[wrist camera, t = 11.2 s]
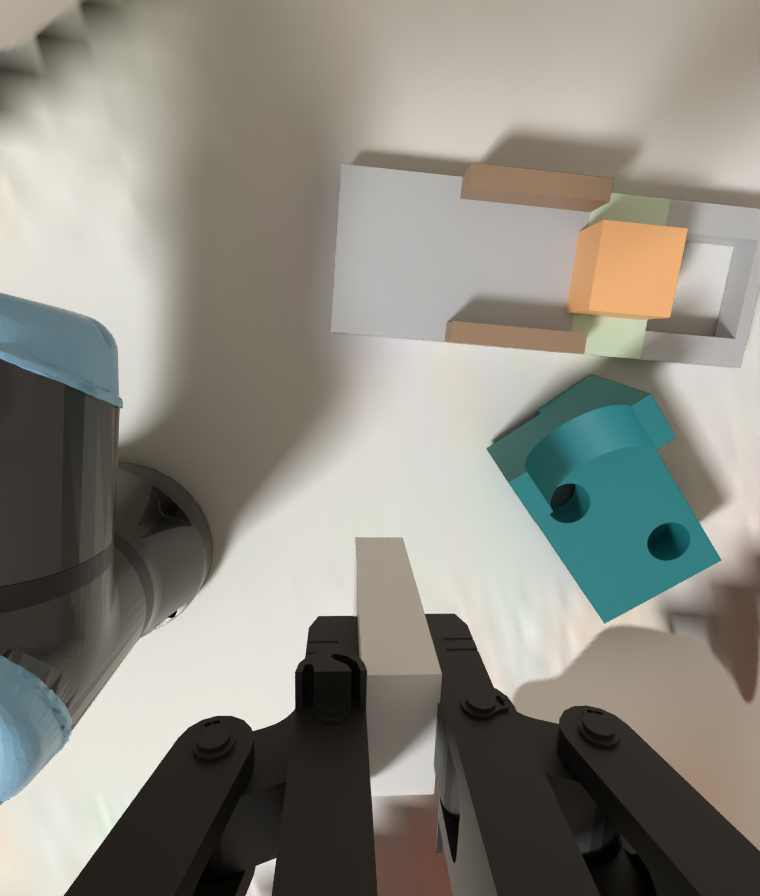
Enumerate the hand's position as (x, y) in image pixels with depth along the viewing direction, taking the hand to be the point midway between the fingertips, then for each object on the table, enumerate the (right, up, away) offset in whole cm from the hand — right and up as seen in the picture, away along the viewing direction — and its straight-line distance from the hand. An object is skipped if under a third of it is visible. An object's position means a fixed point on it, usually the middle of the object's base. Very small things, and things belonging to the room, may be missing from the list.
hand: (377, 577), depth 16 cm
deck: (+13, +18, +25) cm, 34 cm away
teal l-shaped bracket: (+19, 0, +30) cm, 35 cm away
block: (+18, +17, +23) cm, 34 cm away
